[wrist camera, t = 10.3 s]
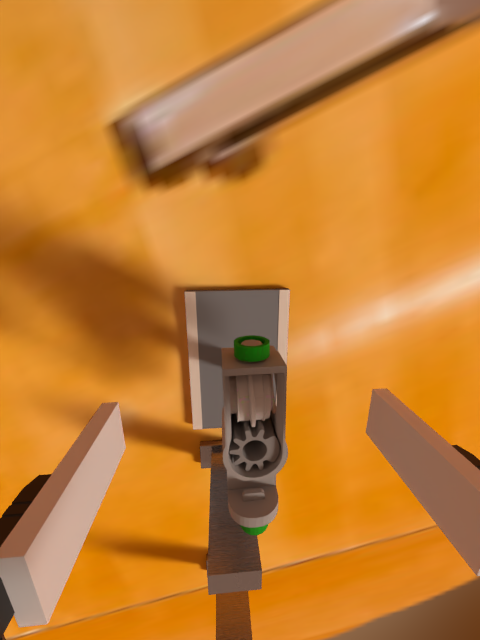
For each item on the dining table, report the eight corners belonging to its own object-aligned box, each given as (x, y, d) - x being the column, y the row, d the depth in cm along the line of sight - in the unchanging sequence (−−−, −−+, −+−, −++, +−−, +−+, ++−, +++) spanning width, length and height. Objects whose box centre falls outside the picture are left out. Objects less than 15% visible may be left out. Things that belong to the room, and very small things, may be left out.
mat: (185, 290, 20) (184, 291, 20) (287, 288, 21) (289, 289, 20) (193, 424, 23) (193, 429, 23) (282, 419, 24) (284, 424, 23)
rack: (200, 441, 24) (188, 571, 14) (255, 438, 24) (279, 562, 15) (207, 570, 28) (202, 737, 19) (253, 566, 29) (272, 727, 19)
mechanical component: (223, 418, 23) (226, 543, 13) (217, 302, 20) (217, 351, 10) (257, 416, 23) (285, 536, 13) (256, 300, 20) (291, 347, 11)
